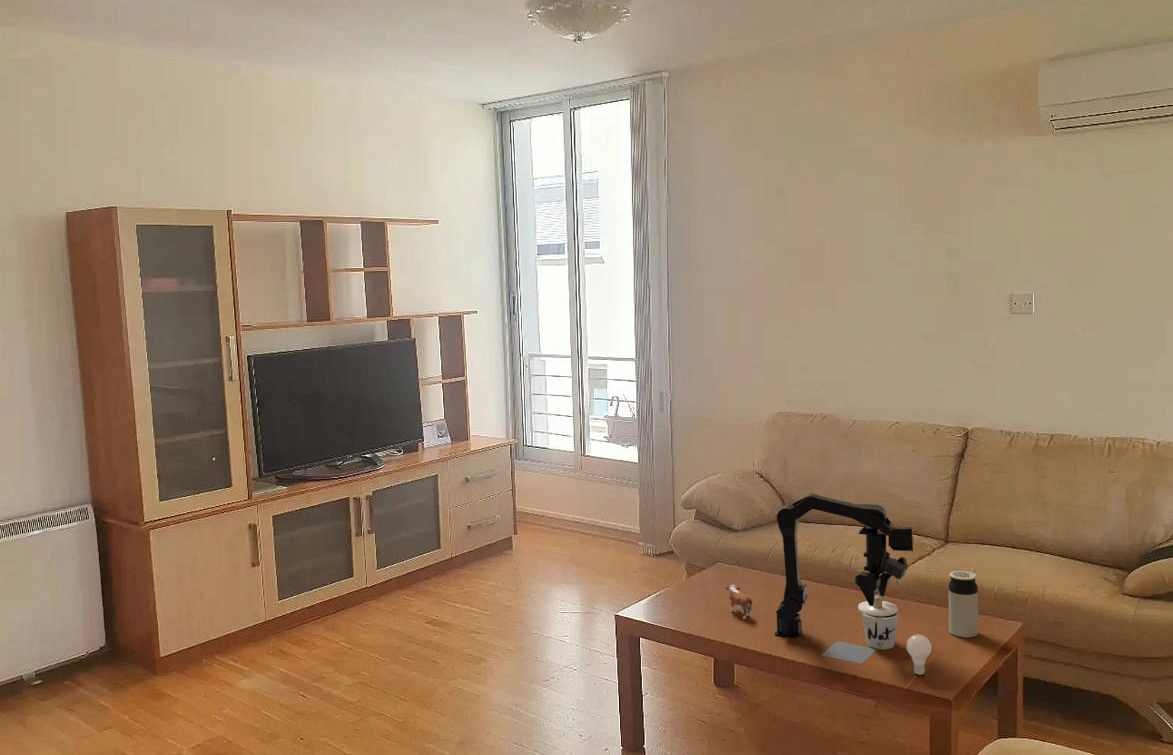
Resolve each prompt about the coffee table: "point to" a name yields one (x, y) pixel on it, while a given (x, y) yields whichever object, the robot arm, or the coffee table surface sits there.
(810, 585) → the coffee table surface
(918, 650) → the lightbulb
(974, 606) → the travel mug
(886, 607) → the lid
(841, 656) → the mat
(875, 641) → the mug
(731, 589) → the bull figurine
